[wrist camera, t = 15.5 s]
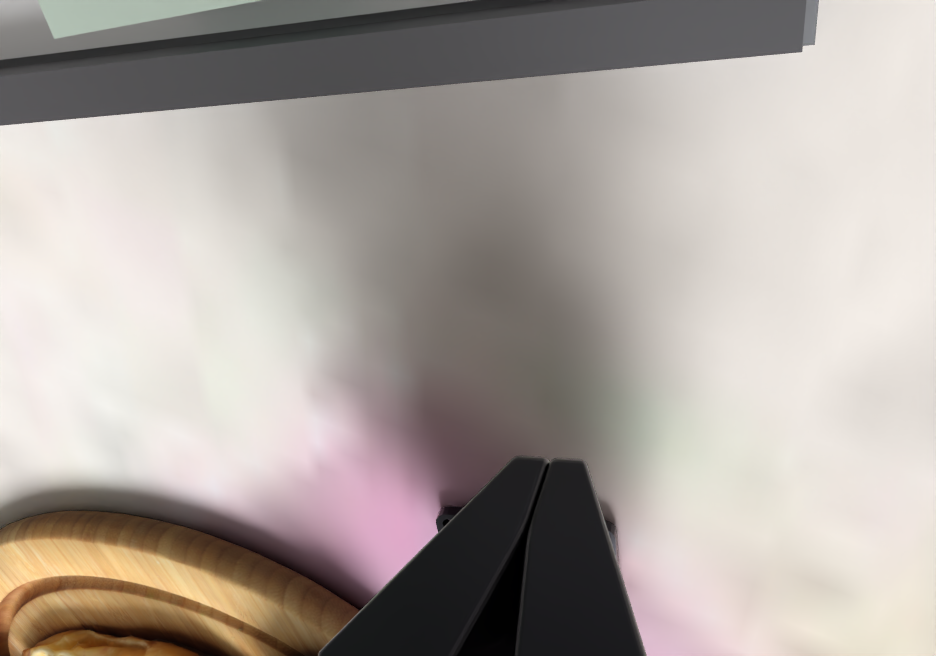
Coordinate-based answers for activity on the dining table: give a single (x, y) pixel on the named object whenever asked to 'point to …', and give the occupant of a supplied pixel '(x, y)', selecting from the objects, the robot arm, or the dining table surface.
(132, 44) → the rail board
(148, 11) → the block
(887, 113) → the dining table surface
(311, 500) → the dining table surface
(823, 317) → the dining table surface
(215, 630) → the wooden plate with food
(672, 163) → the dining table surface
